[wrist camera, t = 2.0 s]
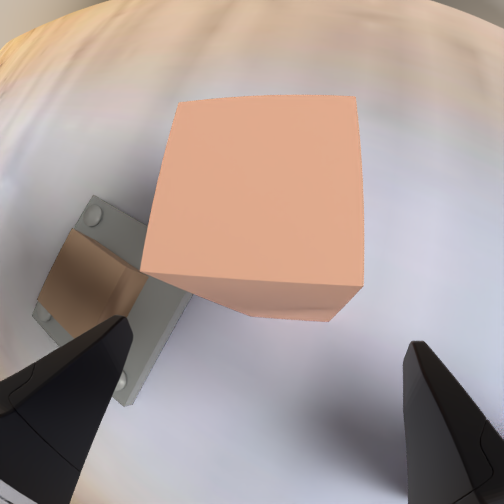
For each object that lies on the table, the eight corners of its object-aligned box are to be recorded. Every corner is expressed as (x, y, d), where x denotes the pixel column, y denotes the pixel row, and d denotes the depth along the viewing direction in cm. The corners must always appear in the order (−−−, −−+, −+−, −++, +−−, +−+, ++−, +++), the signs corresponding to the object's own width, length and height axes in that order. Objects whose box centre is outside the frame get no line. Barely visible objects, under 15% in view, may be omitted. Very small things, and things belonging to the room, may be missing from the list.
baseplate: (132, 404, 20) (120, 407, 19) (40, 317, 24) (28, 315, 22) (210, 262, 22) (203, 257, 20) (101, 200, 25) (90, 192, 24)
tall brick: (328, 321, 19) (363, 286, 6) (250, 316, 20) (139, 271, 7) (332, 245, 21) (355, 96, 7) (258, 242, 22) (178, 102, 8)
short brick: (110, 349, 20) (84, 348, 18) (62, 305, 22) (37, 299, 19) (148, 276, 21) (126, 267, 18) (95, 240, 23) (72, 228, 20)
